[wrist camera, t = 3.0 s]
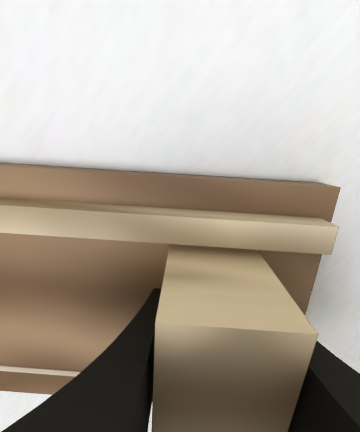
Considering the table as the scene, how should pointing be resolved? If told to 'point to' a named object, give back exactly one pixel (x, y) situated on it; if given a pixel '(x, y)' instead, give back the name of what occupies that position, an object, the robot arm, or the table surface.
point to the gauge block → (226, 344)
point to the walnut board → (129, 252)
